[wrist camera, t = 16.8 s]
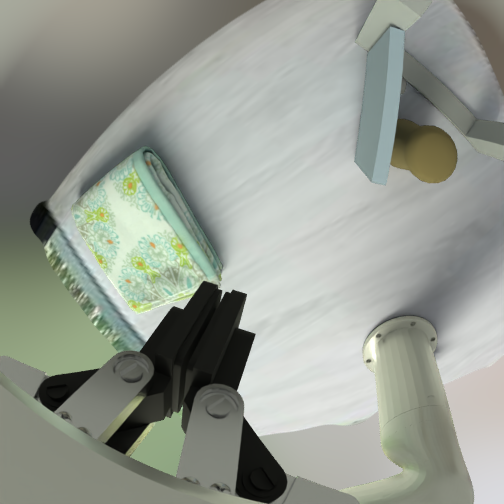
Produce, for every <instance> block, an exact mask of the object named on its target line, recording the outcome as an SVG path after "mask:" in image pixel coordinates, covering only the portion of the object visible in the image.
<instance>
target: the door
mask: <svg viewBox="0 0 504 504" xmlns="http://www.w3.org/2000/svg"><path fill="white" fill-rule="evenodd" d="M404 37H405V31H404V30H400V29H397V28H393V27H389V28H388V30H387V31H386V32H385V33H384V34H383V36H382V37H381V38H380V39H379V40H378V42H377V43H376V44H375V45H374V46H373V48H372V49H371V50H370V51H369V52H368V54H367V65H366V76H365V86H364V96H363V104H362V112H361V120H360V128H359V135H358V142H357V148H356V155H355V161H354V162H355V163H356V164H357V165H358V167H359V168H360V169H361V170H362V171H363V173H364V174H365V175H366V176H367V177H368V179H369V180H370V181H371V182H372V183H376V184H381V185H385V186H386V183H387V178H388V173H389V167H390V162H391V156H392V151H393V145H394V138H395V132H396V125H397V118H398V110H399V102H400V94H404V92H405V89H406V79H404V78H402V71H403V57H404Z"/></svg>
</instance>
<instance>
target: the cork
mask: <svg viewBox="0 0 504 504" xmlns="http://www.w3.org/2000/svg"><path fill="white" fill-rule="evenodd" d="M390 164H391V165H392V166H394V167H397V168H400V169H405V170H410V172H411V173H412V174H413V175H414V176H416V177H417V178H418V179H420V180H421V181H424V182H427V183H439V182H442V181H445V180H446V179H447V178H448V177H450V176H451V175H452V173H453V171H454V170H455V167H456V164H457V149H456V146H455V143H454V142H453V140H452V138H451V137H450V136H449V135H448V134H447V133H446V132H445V131H444V130H442V129H441V128H438V127H436V126H429V125H423V126H419V125H417V124H415V123H414V122H412V121H409V120H406V119H397V125H396V132H395V138H394V145H393V151H392V156H391V162H390Z"/></svg>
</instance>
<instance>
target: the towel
mask: <svg viewBox="0 0 504 504" xmlns="http://www.w3.org/2000/svg"><path fill="white" fill-rule="evenodd" d="M71 211H72V215H73V218H74V220H75V223H76V226H77V228H78V231H79V232H80V234H81V236H82V238H83V239H84V241H85V242H86V244H87V245H88V247H89V249H90V250H91V252H92V253H93V255H94V256H95V258H96V260H97V261H98V263H99V265H100V266H101V268H102V269H103V271H104V272H105V274H106V276H107V277H108V279H109V280H110V281H111V283H112V284H113V285H114V287H115V288H116V290H117V291H118V292H119V294H120V295H121V296H122V298H123V299H124V300H125V302H126V303H127V304H128V306H129V307H130V308H131V309H132V310H133V311H134V312H135V313H136V314H141V313H144V312H146V311H149V310H152V309H154V308H157V307H159V306H162V305H166V304H169V303H173V302H177V301H180V300H184V299H187V298H191V297H192V296H193V295H194V293H195V292H196V290H197V289H198V288H199V286H200V285H201V283H202V282H203V281H207V282H210V283H213V284H217V285H218V288H220V286H221V284H220V281H221V280H222V278H221V272H220V270H221V269H222V268H223V267H222V264H221V263H220V261H219V258H218V256H217V254H216V252H215V251H214V249H213V247H212V245H211V244H210V242H209V240H208V239H207V237H206V235H205V234H204V232H203V230H202V229H201V227H200V225H199V224H198V222H197V220H196V218H195V216H194V215H193V213H192V211H191V209H190V208H189V206H188V204H187V202H186V200H185V199H184V197H183V195H182V193H181V191H180V190H179V188H178V186H177V185H176V183H175V181H174V179H173V177H172V176H171V174H170V172H169V171H168V169H167V168H166V166H165V165H164V163H163V162H162V160H161V159H160V157H159V156H158V155H157V154H156V153H155V152H154V151H153V149H151V148H149V147H147V146H144V147H142V148H140V149H139V150H137V151H136V152H134V153H132V154H131V155H130V156H129V157H127V158H126V159H125V160H123V161H122V162H121V163H119V164H118V165H117V166H116V167H114V168H113V169H112V170H111V171H110V172H108V173H107V174H106V175H105V176H104V177H102V178H101V179H100V180H99V181H98V182H97V183H95V184H94V185H93V186H92V187H91V188H90V189H89V190H88V191H87V192H85V193H84V194H83V195H82V196H81V197H80V198H79V199H78V200H77V201H76V202H75V203H74V204H73V206H72V209H71Z"/></svg>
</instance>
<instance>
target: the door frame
mask: <svg viewBox="0 0 504 504" xmlns="http://www.w3.org/2000/svg"><path fill="white" fill-rule="evenodd" d="M432 1H433V0H377V1H376V3H375V5H374V7H373V9H372V11H371V13H370V14H369V16H368V18H367V20H366V22H365V24H364V26H363V28H362V30H361V32H360V34H359V35H358V37H357V39H356V41H355V43H357V44H358V45H360V46H361V47H363V48H364V49H365V50H367V51H368V52H369V51H370V50H371V49H372V48H373V46H374V45H375V44H376V43H377V42H378V40H379V39H380V38H381V37H382V36H383V34H384V33H385V32H386V31H387V30H388V28H389V27H393V28H397V29H400V30H404V31H406V30H407V29H408V28H409V27H410V26H411V25H413V24H414V23H415V22H416V21H417V20H418V19H419V18H420V17H421V16H422V15H423V14H424V12H425V11H426V10H427V8H428V7H429V5H430V4H431V3H432ZM402 78H404V79H406V81H407V82H408V83H410V84H411V85H412V86H413V87H414V88H415V89H417V90H418V91H419V92H420V93H421V94H422V95H423V96H424V97H426V98H427V99H428V100H429V101H430V102H431V103H432V104H433V105H434V106H435V107H436V108H437V109H438V110H439V111H440V112H441V113H442V114H443V115H444V116H445V117H446V118H447V119H448V120H449V121H450V122H451V123H452V124H453V125H454V126H455V127H456V128H457V129H458V130H459V131H460V132H461V133H462V134H463V136H464V137H465V138H466V139H467V140H468V141H469V142H470V143H471V145H472V146H473V147H474V148H475V149H476V150H477V152H478V153H482V154H485V155H488V156H490V157H493V158H496V159H499V160H502V161H504V123H502V122H494V121H486V120H478V119H476V118H475V117H474V116H473V114H472V113H471V112H470V111H469V110H468V109H467V108H466V107H465V106H464V105H463V104H462V103H461V101H460V100H459V99H458V98H457V97H456V96H455V95H454V94H453V93H452V92H451V91H450V90H449V89H448V88H447V87H446V86H445V85H444V84H443V83H441V82H440V81H439V80H438V79H437V78H436V77H435V76H434V75H433V74H432V73H431V72H429V71H428V70H427V69H426V68H425V67H424V66H423V65H421V64H420V63H419V62H418V61H417V60H416V59H414V58H413V57H412V56H411V55H409V54H408V53H407V52H406V51H404V57H403V71H402Z"/></svg>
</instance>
